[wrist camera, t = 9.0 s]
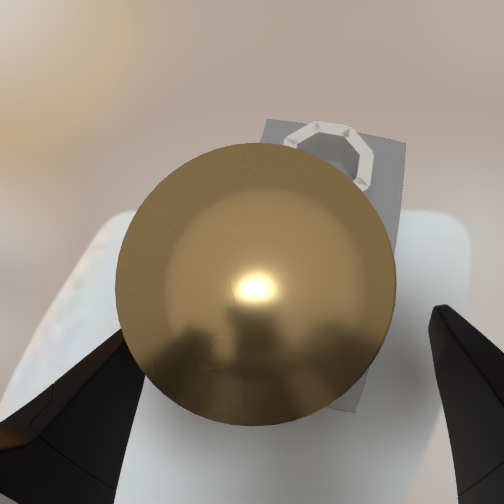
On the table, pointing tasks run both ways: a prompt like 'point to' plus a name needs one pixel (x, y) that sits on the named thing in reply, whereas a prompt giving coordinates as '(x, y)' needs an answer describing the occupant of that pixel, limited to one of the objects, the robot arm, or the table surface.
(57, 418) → the robot arm
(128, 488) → the table surface
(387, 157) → the manifold plate
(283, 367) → the gold metal cylinder
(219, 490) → the table surface
